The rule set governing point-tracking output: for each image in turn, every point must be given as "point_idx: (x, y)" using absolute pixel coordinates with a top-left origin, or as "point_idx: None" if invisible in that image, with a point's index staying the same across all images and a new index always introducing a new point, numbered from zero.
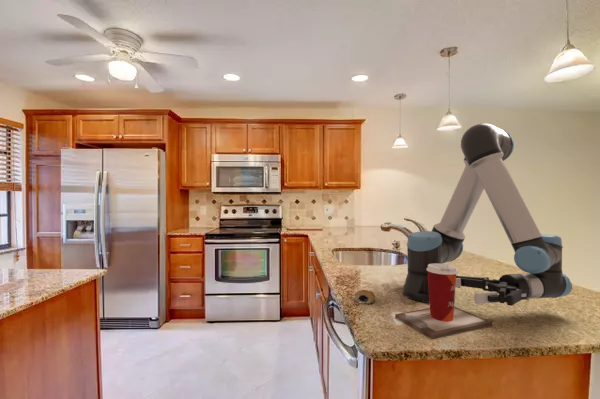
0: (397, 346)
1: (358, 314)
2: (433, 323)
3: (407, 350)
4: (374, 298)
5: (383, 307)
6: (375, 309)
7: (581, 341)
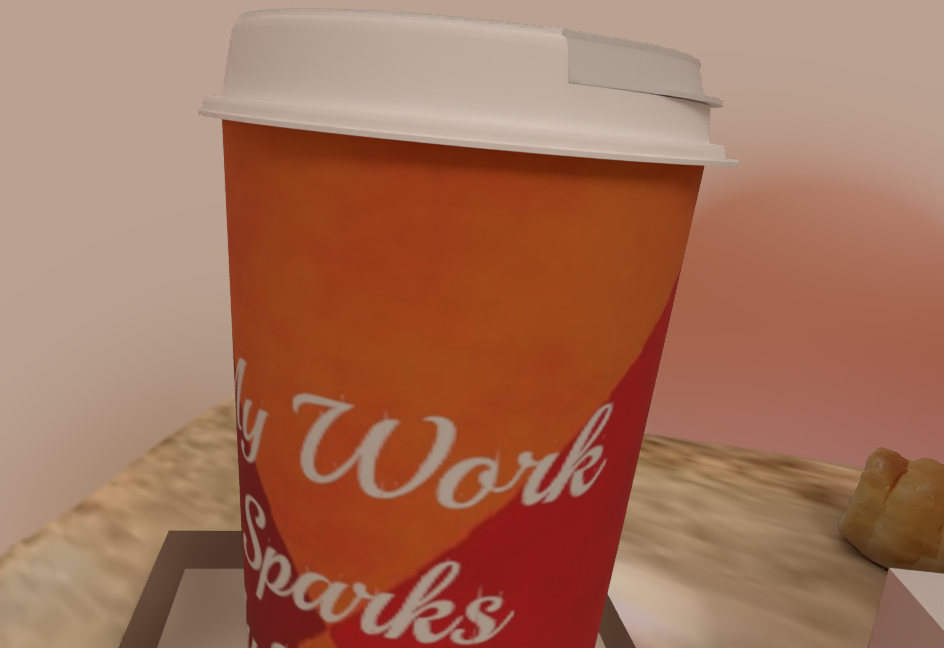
0: (222, 431)
1: None
2: None
3: (166, 438)
4: (916, 548)
5: (794, 585)
6: (735, 534)
7: None
